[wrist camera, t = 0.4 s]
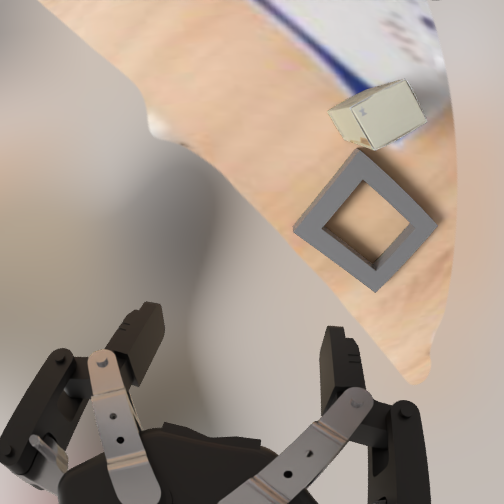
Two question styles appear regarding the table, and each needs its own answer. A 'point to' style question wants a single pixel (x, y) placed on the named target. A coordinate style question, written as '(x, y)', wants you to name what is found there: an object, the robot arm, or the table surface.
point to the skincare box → (378, 115)
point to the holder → (342, 253)
